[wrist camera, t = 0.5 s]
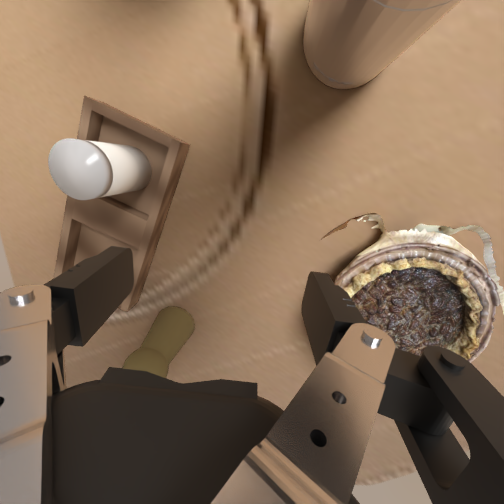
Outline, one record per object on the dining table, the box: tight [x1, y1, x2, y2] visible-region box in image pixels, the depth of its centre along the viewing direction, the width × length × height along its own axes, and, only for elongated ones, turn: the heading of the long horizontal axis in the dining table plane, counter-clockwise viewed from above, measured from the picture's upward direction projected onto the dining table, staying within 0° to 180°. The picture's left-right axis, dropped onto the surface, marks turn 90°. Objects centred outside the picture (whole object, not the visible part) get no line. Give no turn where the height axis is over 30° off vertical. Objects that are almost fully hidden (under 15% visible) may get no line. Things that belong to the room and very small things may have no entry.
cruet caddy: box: [53, 96, 190, 312], centre depth 32 cm, size 24×11×3 cm, turn 155°
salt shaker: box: [48, 138, 152, 200], centre depth 26 cm, size 5×5×9 cm
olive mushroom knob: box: [122, 306, 195, 378], centre depth 33 cm, size 6×6×11 cm
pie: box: [323, 213, 504, 363], centre depth 32 cm, size 28×27×5 cm
